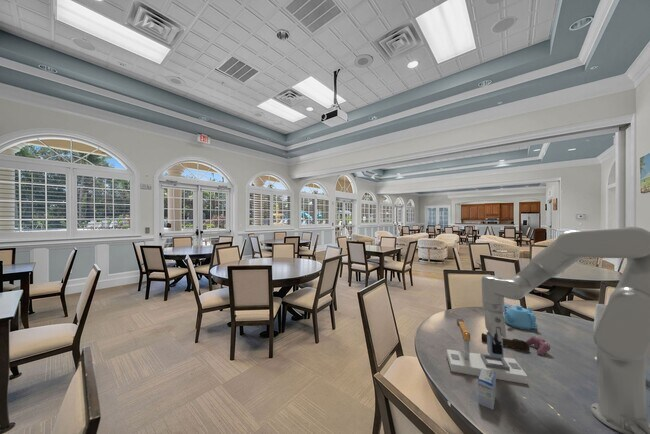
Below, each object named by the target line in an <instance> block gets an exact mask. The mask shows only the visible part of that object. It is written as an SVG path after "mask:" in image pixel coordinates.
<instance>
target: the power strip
mask: <svg viewBox="0 0 650 434" xmlns="http://www.w3.org/2000/svg"><path fill="white" fill-rule="evenodd" d="M446 357H447V360H448V364H449V368H450V372H454V373H460V374H466V375H471V376H477V377H479V374H480V371H481V368H483V369H486V370H489V371H492V372H494V373H495V374H496V380H502V381H506V382H507V381H508V382H514V383H519V384H526V385H528V384H529V383H528V382H529V381H528V380H529V379H528V375H527V373H526V372H525V371H524V369H523V368H522V366H520V364H519V363H518V361H516V359H515V358H511V357H505V356H504V358H497V357H491V356H490V354H489V353H488V354H487V353H475V352H470V341H466V340H464V339H463V351H460V350H454V349H446Z"/></svg>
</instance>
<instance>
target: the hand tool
mask: <svg viewBox="0 0 650 434" xmlns="http://www.w3.org/2000/svg"><path fill="white" fill-rule="evenodd" d="M502 338H503V347H509V348H512V349H513V350H517V351H520V352H521V351H522V352H530V349H531V348H530V345H529V346H528V344H527V343H526V340H525V341H524V340H522V339H519V338H518V339H517V338H512V339H510V338H509V339H508V338H504V337H502ZM481 341H482V342H485V343H487V333H484V332H482V333H481Z"/></svg>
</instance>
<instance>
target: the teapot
mask: <svg viewBox="0 0 650 434" xmlns="http://www.w3.org/2000/svg"><path fill="white" fill-rule="evenodd" d="M504 309H505V312H503V314H504V320H505V324H509V326H510V325H511V326H510V327H512V328H515V327H516V328H515V329H519V328H520V330H532V329H538V325H537V323H536V321H537V316H536V315H535V314H534V313H532V312H533V308H531V307H527V308H524V307H523V306H522V305H518V304H517V305H515V306H509V305H507V304H504Z"/></svg>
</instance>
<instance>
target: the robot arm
mask: <svg viewBox="0 0 650 434" xmlns="http://www.w3.org/2000/svg"><path fill="white" fill-rule="evenodd" d="M583 258H585V259H586V258H588V259H626V264H625V267H624V268H623V269H624V270H623V271H622V273H621V274H622V275H621V277H620V279H619V281H618V283H617V285H616V287H615V289H614V290H613V291H612V293H611V294H610V295H609V299H608V302H607V304H606V305H607V307H606V309H605V311H604V313H603V316H602V318H601V319H600V320H599V321H598V322H597V324H596V327H595V331H593V342H594V343H595V346H596V357H597V360H596V379H597V380H596V383H597V384H596V386H597V389H596V390H597V402H594V403H592V404H591V405H590V411H591V413H592V414H593V416H594V417H595V418H596V419H598V421H600V422H601V423H602V424H604V425H605V426H607V427H609V428H611V429H613V430H614V431H617V432H619V433H621V434H650V422H649V420H648V418H647V417H648V414H647V412H648V411H647V386H646V384H647V383H646V382H647V381H646V378H647V377H646V376H647V375H646V354H647V352H648V351H649V349H650V231H649V230H647V229H644V228H641V227H637V226H625V227H622V228H621V227H620V228H608V229H607V228H606V229H588V230H587V229H586V230H583V229H577V228H576V229H569V230H566V231H563V232H561V233H560V234H559V235H558V236H557V238H555V240H553V241H552V242H551V243H549V245H547V246H546V247H545V248H543V249H542V250H541V251H540V252H538V253H537V254H535V255H534V256H533V258H532V259H531V261H530V262H529V264H527V265H526V266H525V267H524V268H522V269H521V270H520V271H519V272H517V273H516V274H515V275H513V276H511V277H510V278H507V279H503V278H502V277H501V276H498V275H493V274H492V275H491V274H490V275H489V274H488V275H487V274H486V275H483V276H482V277H481V299H482V301H481V302H482V303H481V304H482V309H483V310H484V325H485V329H486V330H487V332H489V333H490V334H491V335H492V338H493V343H492V352H493V353H494V354H501V355H502V338H505V339H507V329H506V321H505V320H504V312H505V309H504V305H505V298H506V299H509V300H513V301H516V300H517V301H518V300H521V299H523V298H524V297H526V296H527V295H528V294H529V293H530V292H532V291H533V290H534V289H536V288H538V287H539V286H541V285H542V284H543V283H545V282H547V281H548V280H550V279H551V278H553V277H554V278H555V277H556V276H558V275H559V274H561V273H562V272H564V271H566V270H567V269H568V268H569V267H571V266H572V265H574V264H575V263H576V262H578V261H579V260H581V259H583ZM494 334H496V335H497V336H495V335H494ZM495 338H497V339H496V340H495Z"/></svg>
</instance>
